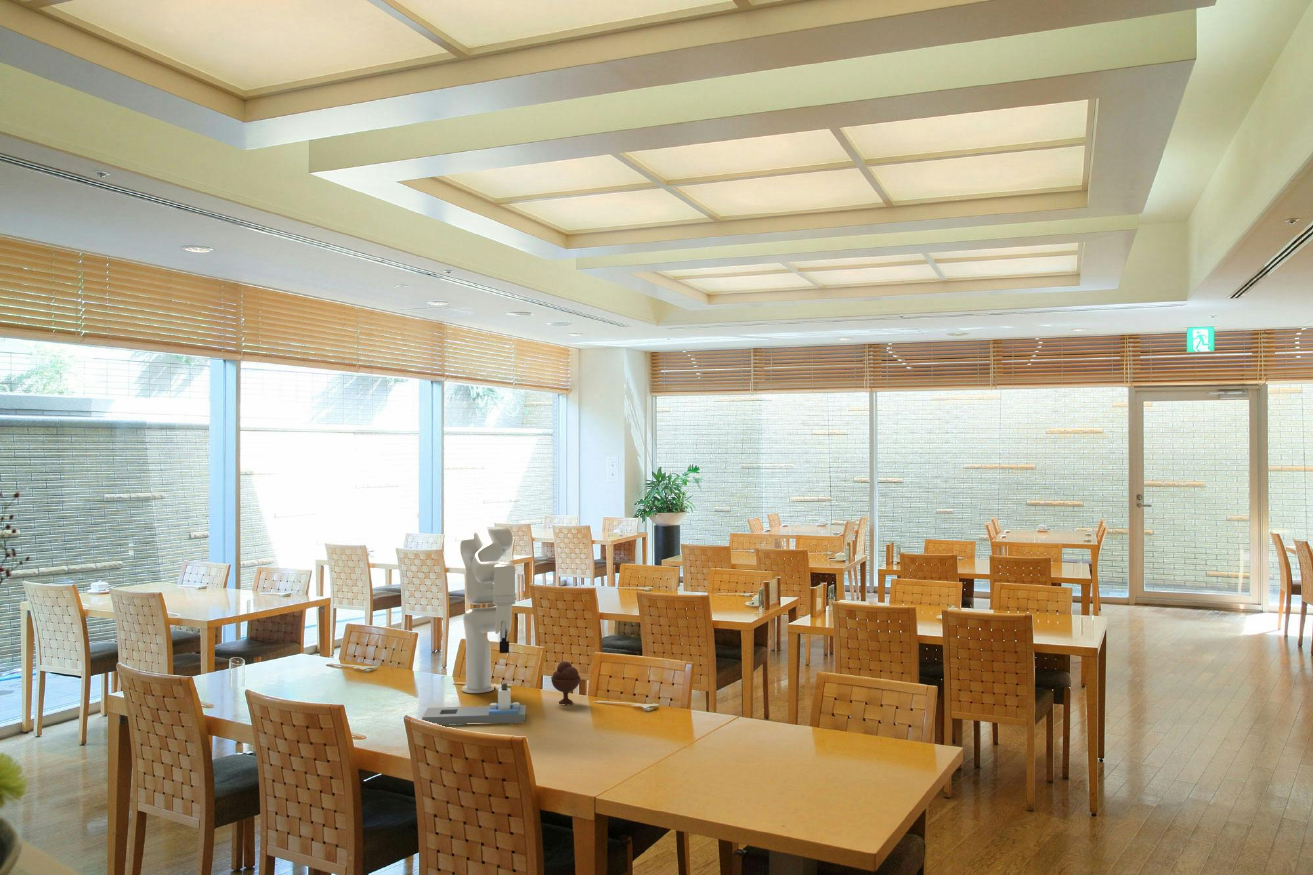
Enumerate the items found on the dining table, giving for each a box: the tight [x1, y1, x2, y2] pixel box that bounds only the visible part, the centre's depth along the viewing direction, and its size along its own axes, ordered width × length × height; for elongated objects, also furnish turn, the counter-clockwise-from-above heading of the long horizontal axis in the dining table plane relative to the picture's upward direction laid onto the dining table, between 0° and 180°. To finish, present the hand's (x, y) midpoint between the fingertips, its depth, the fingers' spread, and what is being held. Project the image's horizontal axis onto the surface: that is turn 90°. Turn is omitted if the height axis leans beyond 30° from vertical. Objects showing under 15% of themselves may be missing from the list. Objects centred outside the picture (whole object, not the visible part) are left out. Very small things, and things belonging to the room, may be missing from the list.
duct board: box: [421, 701, 527, 726], centre depth 319 cm, size 12×34×5 cm, turn 95°
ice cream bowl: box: [550, 661, 581, 705], centre depth 340 cm, size 11×11×15 cm
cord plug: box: [497, 682, 512, 709], centre depth 320 cm, size 4×4×12 cm
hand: (504, 652), depth 320 cm, fingers closed
